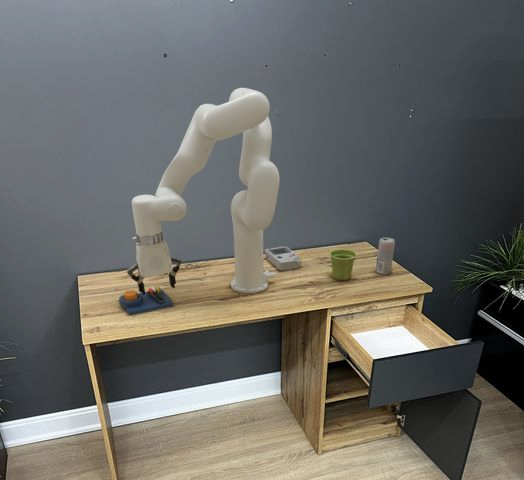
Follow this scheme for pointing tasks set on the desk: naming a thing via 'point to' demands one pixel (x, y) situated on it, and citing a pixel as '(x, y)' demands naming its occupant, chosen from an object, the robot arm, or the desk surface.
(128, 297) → the power button
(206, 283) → the desk surface
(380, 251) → the energy drink
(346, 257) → the plant pot
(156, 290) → the composite cable
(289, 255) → the handheld gaming device
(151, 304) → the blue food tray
